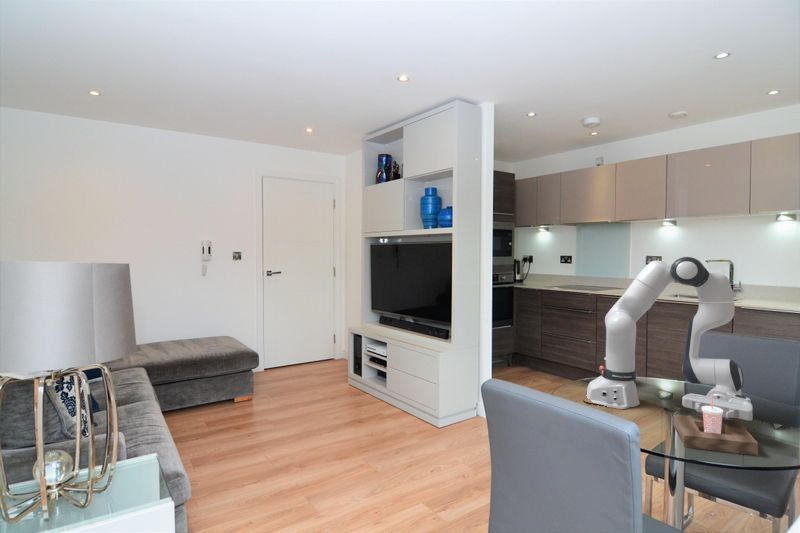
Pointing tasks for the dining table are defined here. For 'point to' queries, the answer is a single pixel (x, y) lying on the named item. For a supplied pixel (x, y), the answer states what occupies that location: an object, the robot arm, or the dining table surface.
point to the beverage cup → (712, 418)
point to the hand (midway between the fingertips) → (711, 413)
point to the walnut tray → (715, 436)
